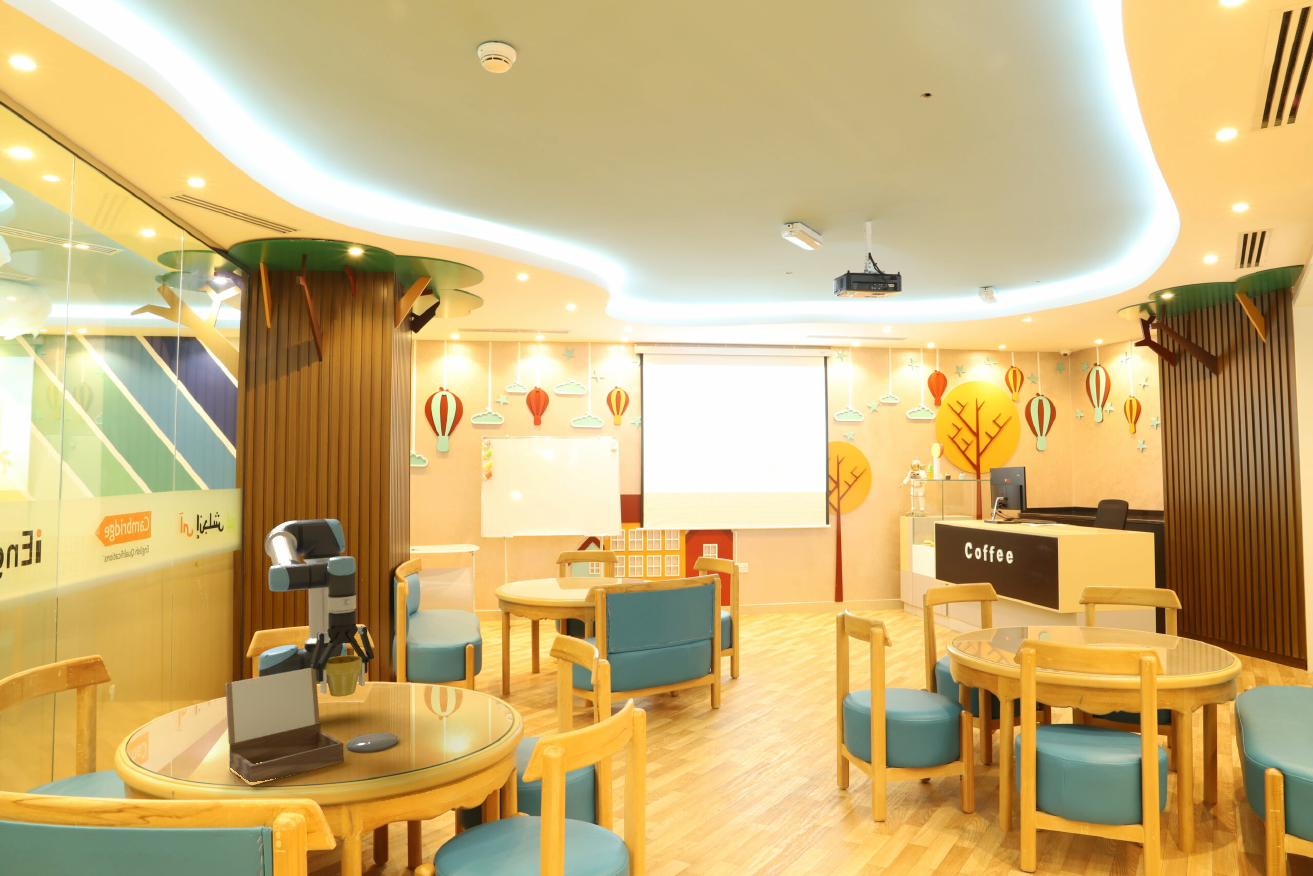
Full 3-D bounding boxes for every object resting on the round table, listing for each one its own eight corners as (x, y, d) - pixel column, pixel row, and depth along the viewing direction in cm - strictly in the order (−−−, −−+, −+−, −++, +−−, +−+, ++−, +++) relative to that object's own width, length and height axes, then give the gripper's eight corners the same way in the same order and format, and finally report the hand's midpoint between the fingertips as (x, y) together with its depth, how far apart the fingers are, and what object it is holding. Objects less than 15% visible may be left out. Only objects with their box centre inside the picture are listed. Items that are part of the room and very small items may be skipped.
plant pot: (347, 699, 226) (347, 664, 227) (315, 698, 229) (315, 662, 229) (369, 689, 236) (368, 655, 237) (337, 688, 239) (337, 654, 239)
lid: (225, 741, 222) (225, 682, 223) (314, 721, 239) (313, 666, 239) (230, 744, 219) (230, 684, 220) (319, 724, 236) (319, 668, 237)
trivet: (338, 745, 238) (338, 741, 238) (384, 733, 248) (384, 729, 248) (359, 756, 228) (359, 751, 228) (406, 743, 238) (406, 739, 238)
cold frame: (229, 770, 219) (229, 744, 219) (318, 748, 236) (318, 723, 236) (250, 786, 207) (250, 758, 207) (343, 761, 224) (343, 735, 224)
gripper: (306, 617, 223) (306, 699, 222) (385, 607, 239) (386, 683, 238) (296, 614, 229) (297, 694, 228) (375, 604, 244) (376, 679, 243)
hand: (342, 688), depth 233 cm, fingers closed on plant pot, 10 cm apart
